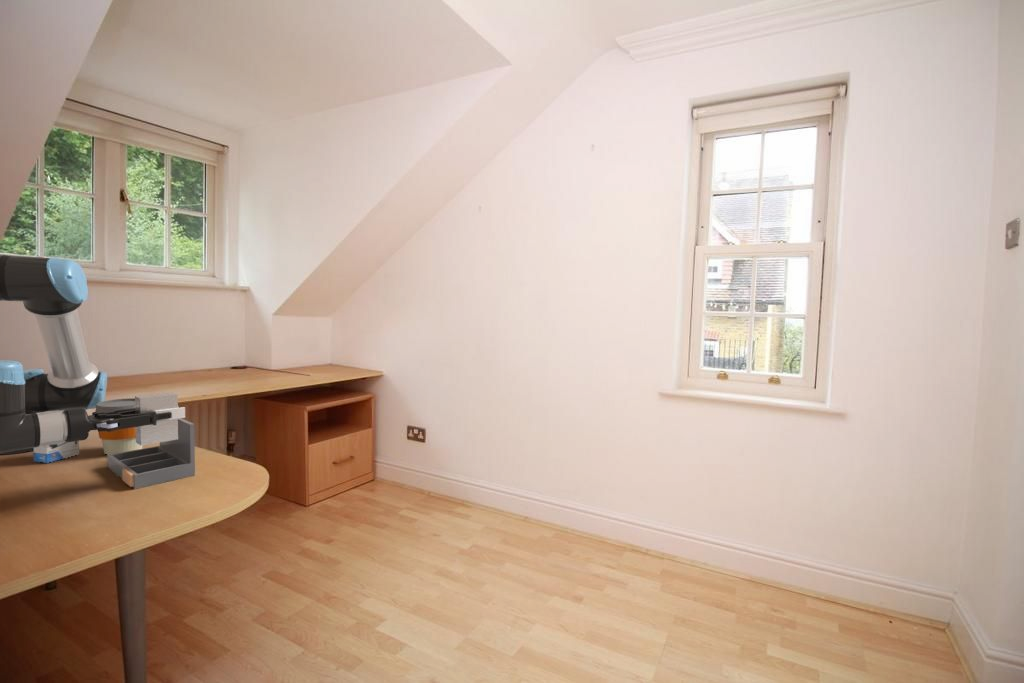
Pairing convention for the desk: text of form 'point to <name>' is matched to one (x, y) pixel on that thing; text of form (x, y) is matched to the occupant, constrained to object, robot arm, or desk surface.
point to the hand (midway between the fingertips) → (180, 410)
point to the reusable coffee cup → (122, 437)
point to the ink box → (56, 452)
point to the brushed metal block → (162, 428)
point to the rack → (158, 460)
